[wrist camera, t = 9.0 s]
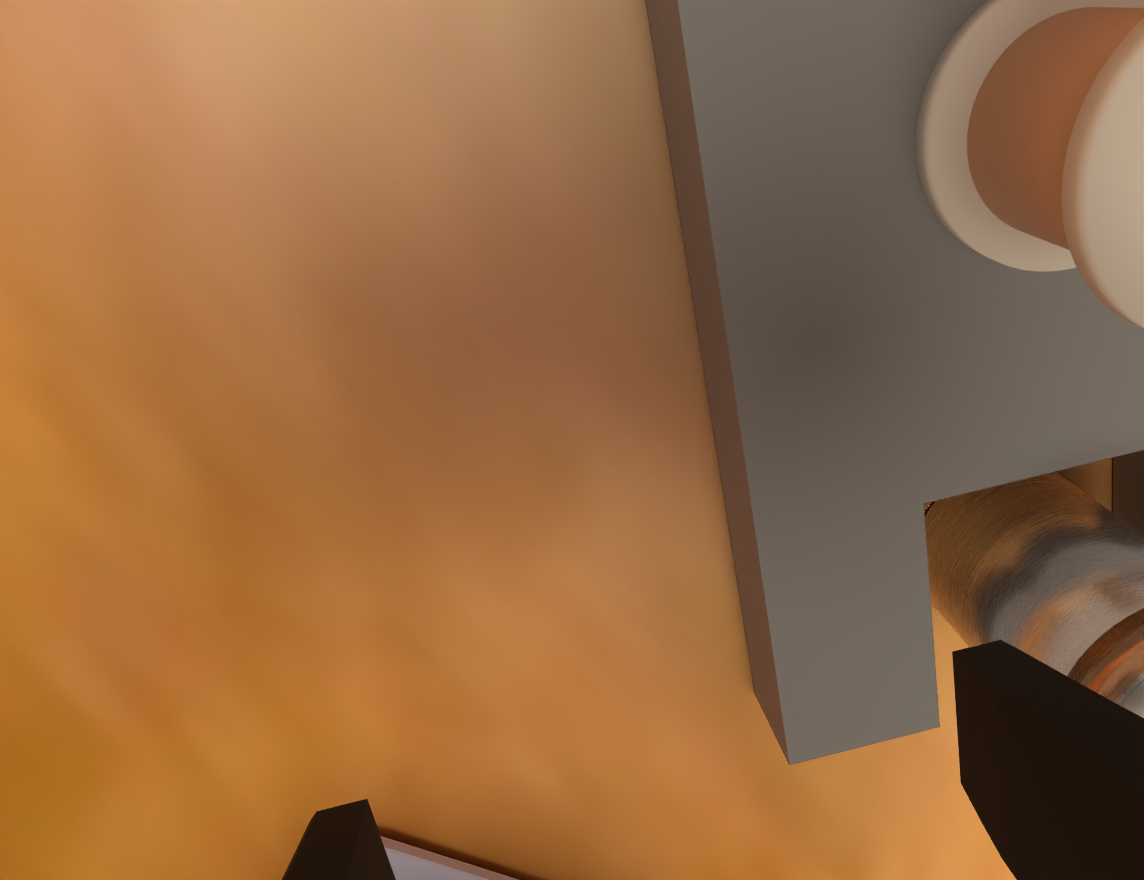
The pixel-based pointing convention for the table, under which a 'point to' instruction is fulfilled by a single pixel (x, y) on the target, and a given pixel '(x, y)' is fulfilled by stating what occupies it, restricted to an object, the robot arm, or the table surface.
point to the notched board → (899, 304)
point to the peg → (1044, 580)
